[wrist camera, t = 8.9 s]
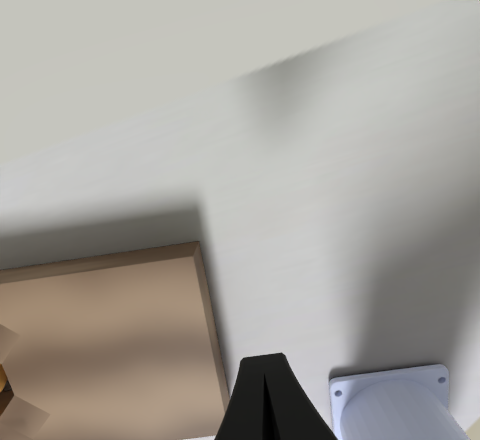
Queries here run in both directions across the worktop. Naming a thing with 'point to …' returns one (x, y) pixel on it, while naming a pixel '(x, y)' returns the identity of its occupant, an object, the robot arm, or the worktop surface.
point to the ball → (2, 378)
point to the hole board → (111, 348)
